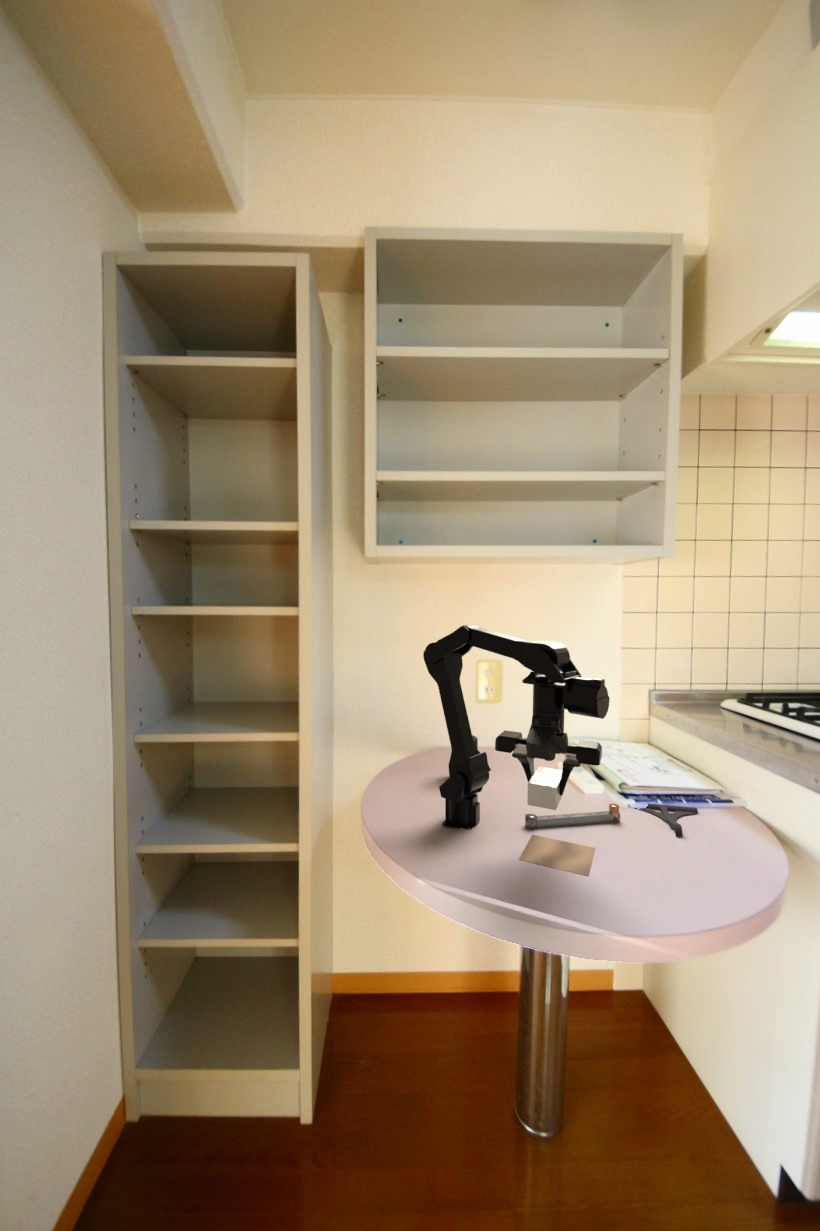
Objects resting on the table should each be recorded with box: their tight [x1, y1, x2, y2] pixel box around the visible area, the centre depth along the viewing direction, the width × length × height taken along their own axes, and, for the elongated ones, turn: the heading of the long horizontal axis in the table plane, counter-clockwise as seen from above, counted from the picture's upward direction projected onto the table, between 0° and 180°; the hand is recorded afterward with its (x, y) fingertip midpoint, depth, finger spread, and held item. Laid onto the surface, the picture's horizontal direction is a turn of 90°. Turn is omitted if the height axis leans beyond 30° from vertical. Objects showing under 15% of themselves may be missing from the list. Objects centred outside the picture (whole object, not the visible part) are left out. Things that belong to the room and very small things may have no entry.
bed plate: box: [518, 834, 596, 877], centre depth 91 cm, size 12×11×1 cm
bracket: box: [638, 802, 699, 838], centre depth 107 cm, size 14×15×3 cm
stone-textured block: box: [526, 766, 565, 811], centre depth 92 cm, size 5×10×4 cm, turn 154°
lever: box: [524, 803, 621, 830], centre depth 104 cm, size 21×2×4 cm, turn 100°
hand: (546, 792), depth 92 cm, fingers closed on stone-textured block, 5 cm apart
